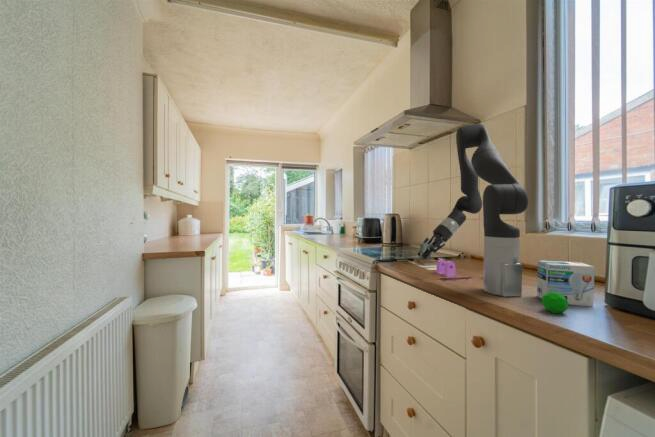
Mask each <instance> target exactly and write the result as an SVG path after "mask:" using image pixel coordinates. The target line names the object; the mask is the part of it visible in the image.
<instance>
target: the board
mask: <svg viewBox="0 0 655 437" xmlns="http://www.w3.org/2000/svg"><path fill="white" fill-rule="evenodd" d="M407 262H408V263H410V264H413V265H415V266H417V267H420V268H422V269H426V270H428V271H437V266H424V265H421V264H418V263H415V262H414V260H411V261H410V260H407Z"/></svg>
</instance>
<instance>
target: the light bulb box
mask: <svg viewBox="0 0 655 437" xmlns="http://www.w3.org/2000/svg"><path fill="white" fill-rule="evenodd" d="M595 269H596V268H595V266H593V265H590V264H587V263H584V262H580V261H578V262H577V261H560V260H559V261H557V260H556V261H555V260H539V259H538V260H537V278H536V279H537V280H536V282H537V283H536V287H537V288H536V296H537V297H538V298H540V299H541V300H542V298H543V295H545V294H546V293H549V292H556V293H560V294H561V295H563V296H564V297H565V298H566V300H567V302H568V306H570V305H571V306H581V307H590V306H593V307H594V294H595V293H594V292H595V271H596V270H595Z"/></svg>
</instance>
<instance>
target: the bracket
mask: <svg viewBox="0 0 655 437" xmlns="http://www.w3.org/2000/svg"><path fill="white" fill-rule="evenodd" d="M436 261H437V270H436V274H437V275H442V274H443V275H444V277H442V278H441V277H440V280H441V279H442V280H444V281H456V280H457V281H458V280H467V279H468V280H469V279H472V278H473V277H472V276H470V277H469V276H468V277H455V276H456V263H455V262H454V261H451V260H445V259H442V258H440V259H438V260H436Z"/></svg>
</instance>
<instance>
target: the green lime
mask: <svg viewBox="0 0 655 437" xmlns="http://www.w3.org/2000/svg"><path fill="white" fill-rule="evenodd" d="M541 303H542V305H543V307H544V308H545V310H546V311H549V312H551V313H553V314H562V313H565V311H567V310H568V308H569V304H568V302H567V300H566V298H565V297H564V296H563V295H561V294H560V293H556V292H549V293H546V294H545V295H543V298H542V299H541Z"/></svg>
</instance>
